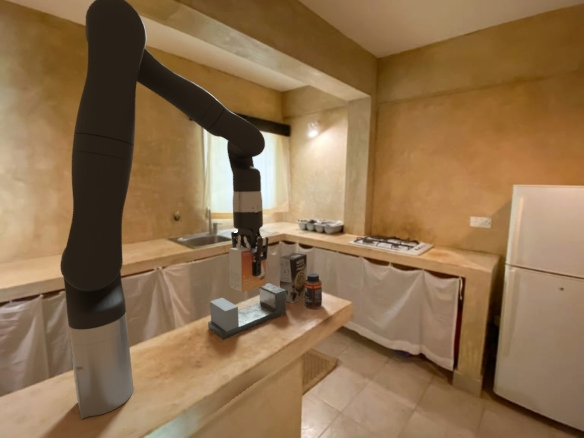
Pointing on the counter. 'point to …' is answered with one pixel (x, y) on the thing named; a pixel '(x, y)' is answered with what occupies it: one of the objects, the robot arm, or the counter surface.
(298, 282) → the coffee box
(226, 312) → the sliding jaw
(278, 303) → the vise bed
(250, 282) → the small box
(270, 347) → the counter surface
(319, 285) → the supplement bottle
